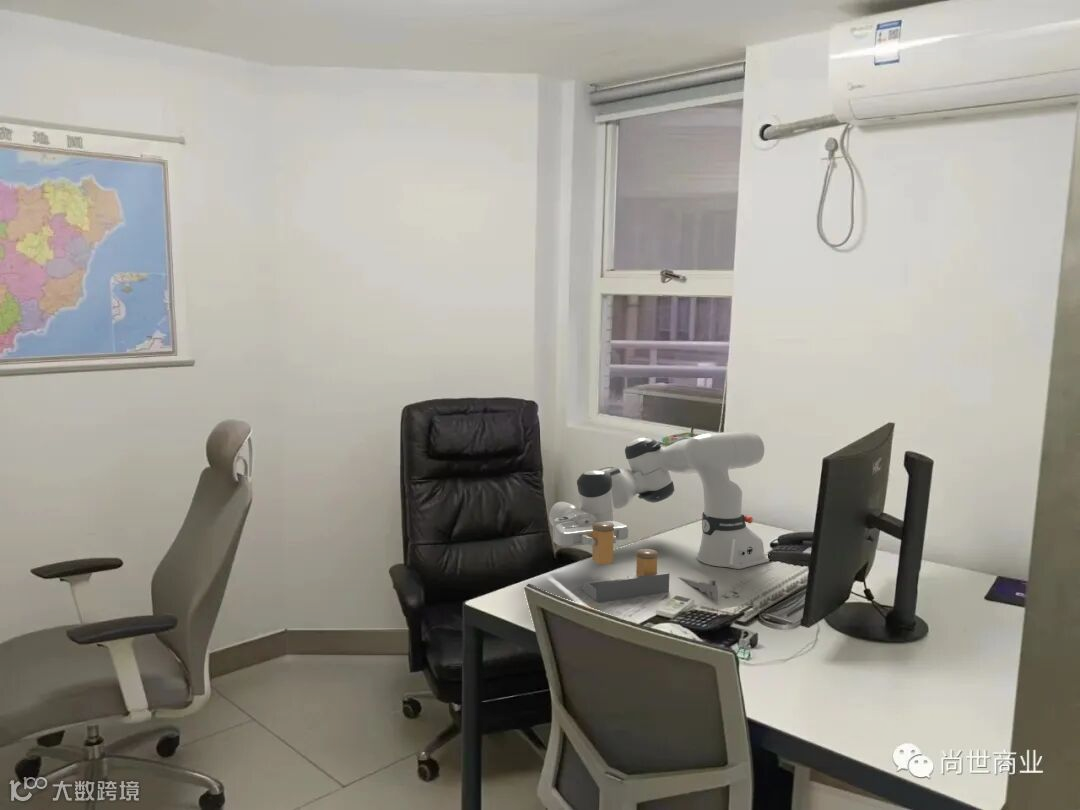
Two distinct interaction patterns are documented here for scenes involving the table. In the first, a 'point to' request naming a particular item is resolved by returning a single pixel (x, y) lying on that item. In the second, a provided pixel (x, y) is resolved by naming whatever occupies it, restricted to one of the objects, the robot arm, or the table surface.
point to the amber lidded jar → (603, 542)
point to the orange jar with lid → (646, 562)
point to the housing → (627, 587)
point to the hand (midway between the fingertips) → (604, 541)
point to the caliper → (704, 587)
